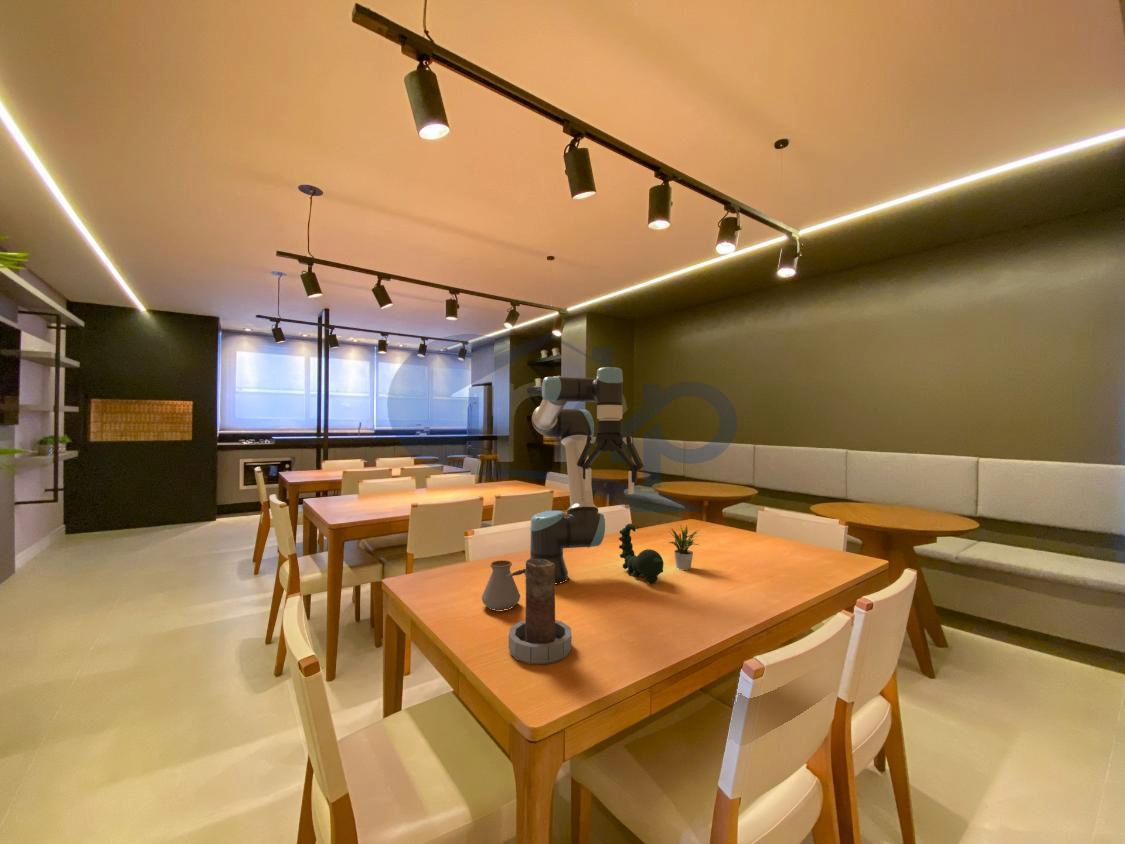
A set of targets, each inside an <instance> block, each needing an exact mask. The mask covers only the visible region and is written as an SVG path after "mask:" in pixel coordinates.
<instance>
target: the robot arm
mask: <svg viewBox="0 0 1125 844" xmlns="http://www.w3.org/2000/svg"><path fill="white" fill-rule="evenodd" d="M623 377H624V376H623V370H622V368H620V367H616V366H615V367H613V366H611V367H610V366H606V367H605V366H604V367H600V368H598V369H597V370H596V377H568V376H555V375H554V376H546V377H544V378H543V380H542V384H541V397H542V400H541V402H540V405H539V406H537V407H536V408H535V409H534V411H533V412H532V416H531V423H532V427H533V428H534V430H536V431H537V433H539V434H540V435H542V436H544V437H546V438H551V439H560V442H561V444H562V445H563V446H564V448H565V456H566V457H565V458H566V468H567V469H566V470H567V480H568V492H569V493H568V494H569V505H570V506H569V507H568V509H566V514H564V512H563V511H562V510H559V509H558V510H545V511H542V512H538V513H536V514H534V515H533V516H532V517H531V518H530V519H531V520H530V527H529V531H530V547H529V548H530V551H529V552H530V557H529V559H540V560H541V559H542V560H543V559H545V560H548V561H550V562H552V563H554V564H555V583H560V582H563V581H565V580H567V581H568V579H569V577H568V576H569V572H568V568H567V564H566V562H565V559H564V549H573V548H574V549H575V548H578V549H579V548H593V547H598V546H600V545H601V544H602V542H603V541H604V538H605V533H606V532H605V531H606V519H605V515H604V514H603V513H599V508H598V507H597V506H596V505H595V504H594V497H593V496H594V495H593V488H592V468H591V467H590V466H592V464H593V463H594V462H595V460H596V459H597V458H598V457H599V455H601V453H602V452H611V453H614V452H616V453H617V454H618V455H619V456H620V457H621V459H622V460H623V462H624V463H625V464H626V466H627V467H628V468H629V469H630V470H629V471H628V484H627V485H628V490H627V491H628V495H634V494H635V483H637V482H638V471H639V470H643V469H644V468H645V467H644V464H643V461H642V459H641V457H640V455H639V453H638V451H637V448H636V446H635V445H634V438H633V436H626V437H623V421H622V419H623V391H624V390H623V389H624V387H623V386H624V385H623V384H624V383H623V382H624V378H623ZM568 402H584V403H586V402H587V403H588V402H589V403H596V419H598V420H597V422H596V436H594V433H595V422H594V419H593V416H592V414H591V412H590V411H589V410H587V409H585V408H583V409H581V408H574V409H573V408H564V407H565V405H566V404H567V403H568ZM595 443H597V445H596V447H595V448H594V450H593V452H592V453H591V454H590V452H591V450H592V448H593V446H594V444H595ZM623 443H624V444H625V445H627V448H628V451H629V454H630V456H631V457H632V458H631V457H630V456H629V455H628V453H627V452H626V450H625V449H624V447H623V446H622V444H623ZM589 454H590V456H589ZM525 574H526V573H524V578H525V577H526V576H525ZM567 578H568V579H567ZM565 582H566V581H565ZM563 583H564V582H563Z"/></svg>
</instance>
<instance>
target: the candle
mask: <svg viewBox="0 0 1125 844" xmlns="http://www.w3.org/2000/svg"><path fill="white" fill-rule="evenodd" d="M525 569H526V579H525V615H524V616H525V619H524V621H525V641H526V642H528V643H532V644H547V643H551V642H554V641H555V620H556V593H555V592H556V590H555V589H556V585H555V564H554V563H552V562H550V561H548V560H545V559H543V560H542V559H541V560H540V559H530V558H528V559H527V560H525Z"/></svg>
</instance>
